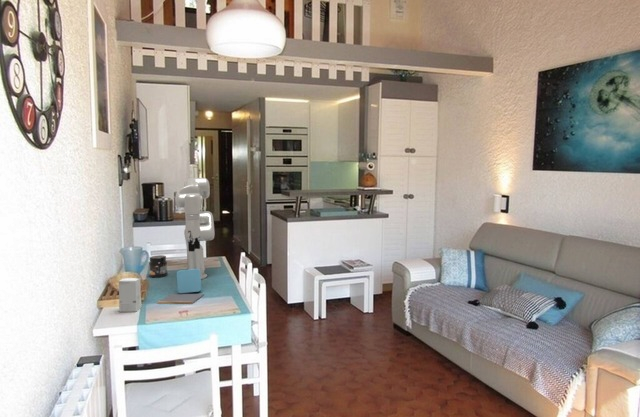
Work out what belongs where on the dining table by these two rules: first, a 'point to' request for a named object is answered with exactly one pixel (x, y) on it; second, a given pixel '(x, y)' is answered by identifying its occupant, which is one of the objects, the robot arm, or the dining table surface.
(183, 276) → the data package
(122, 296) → the skincare box
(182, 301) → the oak strip
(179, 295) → the rubber mat
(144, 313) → the dining table surface
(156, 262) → the supplement container
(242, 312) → the dining table surface
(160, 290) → the dining table surface
